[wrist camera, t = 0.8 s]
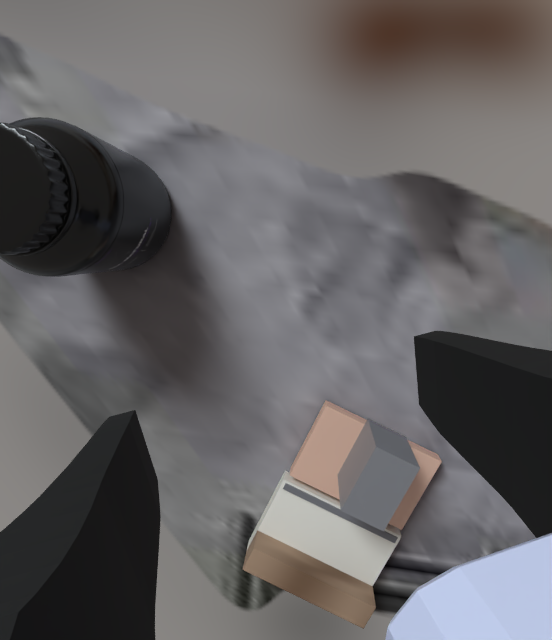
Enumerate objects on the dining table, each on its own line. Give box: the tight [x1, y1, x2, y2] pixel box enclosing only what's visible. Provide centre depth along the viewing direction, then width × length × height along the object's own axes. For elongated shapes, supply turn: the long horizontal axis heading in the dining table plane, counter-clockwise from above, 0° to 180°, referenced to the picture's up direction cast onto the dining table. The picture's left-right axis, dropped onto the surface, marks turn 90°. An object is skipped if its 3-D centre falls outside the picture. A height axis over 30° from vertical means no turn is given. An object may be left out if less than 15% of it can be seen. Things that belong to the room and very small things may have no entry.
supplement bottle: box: [0, 117, 171, 277], centre depth 23 cm, size 7×7×12 cm
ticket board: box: [243, 471, 402, 628], centre depth 30 cm, size 8×6×3 cm
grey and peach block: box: [290, 401, 442, 532], centre depth 27 cm, size 8×5×5 cm
